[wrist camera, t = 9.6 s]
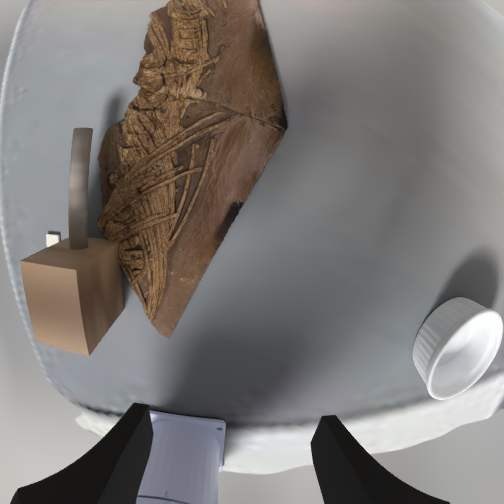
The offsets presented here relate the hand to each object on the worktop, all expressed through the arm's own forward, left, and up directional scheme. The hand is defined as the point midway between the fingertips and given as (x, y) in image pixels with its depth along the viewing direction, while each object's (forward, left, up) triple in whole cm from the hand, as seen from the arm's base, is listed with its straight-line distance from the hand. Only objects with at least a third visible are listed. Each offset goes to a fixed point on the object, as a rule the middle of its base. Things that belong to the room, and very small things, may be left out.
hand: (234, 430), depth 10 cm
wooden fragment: (+11, +4, -10) cm, 15 cm away
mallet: (+6, +10, -9) cm, 15 cm away
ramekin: (-1, -19, -10) cm, 21 cm away
